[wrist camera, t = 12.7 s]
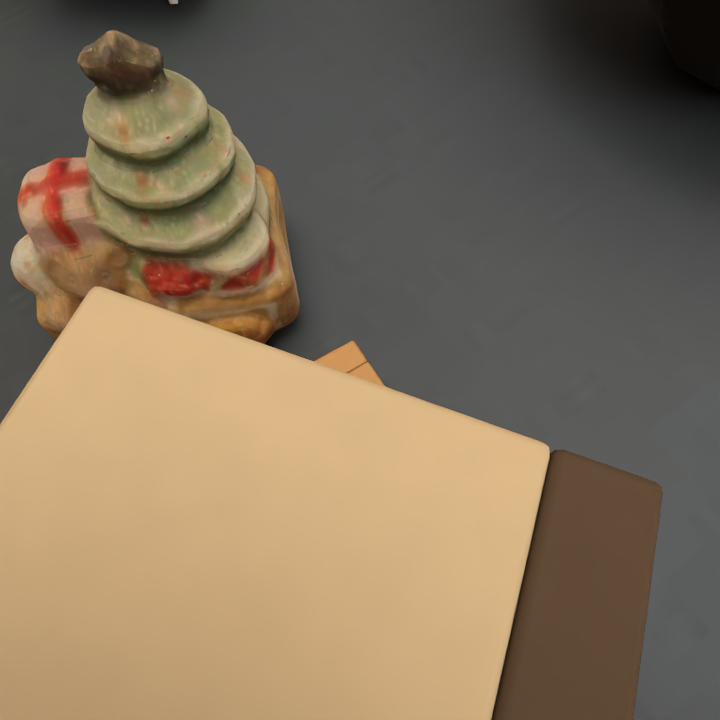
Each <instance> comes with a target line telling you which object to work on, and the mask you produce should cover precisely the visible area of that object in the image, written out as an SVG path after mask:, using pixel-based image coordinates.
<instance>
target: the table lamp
mask: <svg viewBox="0 0 720 720" xmlns="http://www.w3.org/2000/svg"><path fill="white" fill-rule="evenodd" d="M649 1H650V3H651V6H652V8H653V11H654V13H655V16H656V18H657V21H658V23H659V26H660V29H661V31H662V34H663V36H664V39H665V41H666V44H667V46H668V49H669V51H670V53H671V56H672V58H673V59H674V61H675V63H676V64H677V66H678V67H679V68H681V69H683V70H684V71H686V72H688V73H690V74H691V75H693V76H695V77H697V78H698V79H700V80H702V81H704V82H705V83H707V84H709V85H711V86H712V87H714V88H716V89H718V90H719V91H720V0H649Z"/></svg>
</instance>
